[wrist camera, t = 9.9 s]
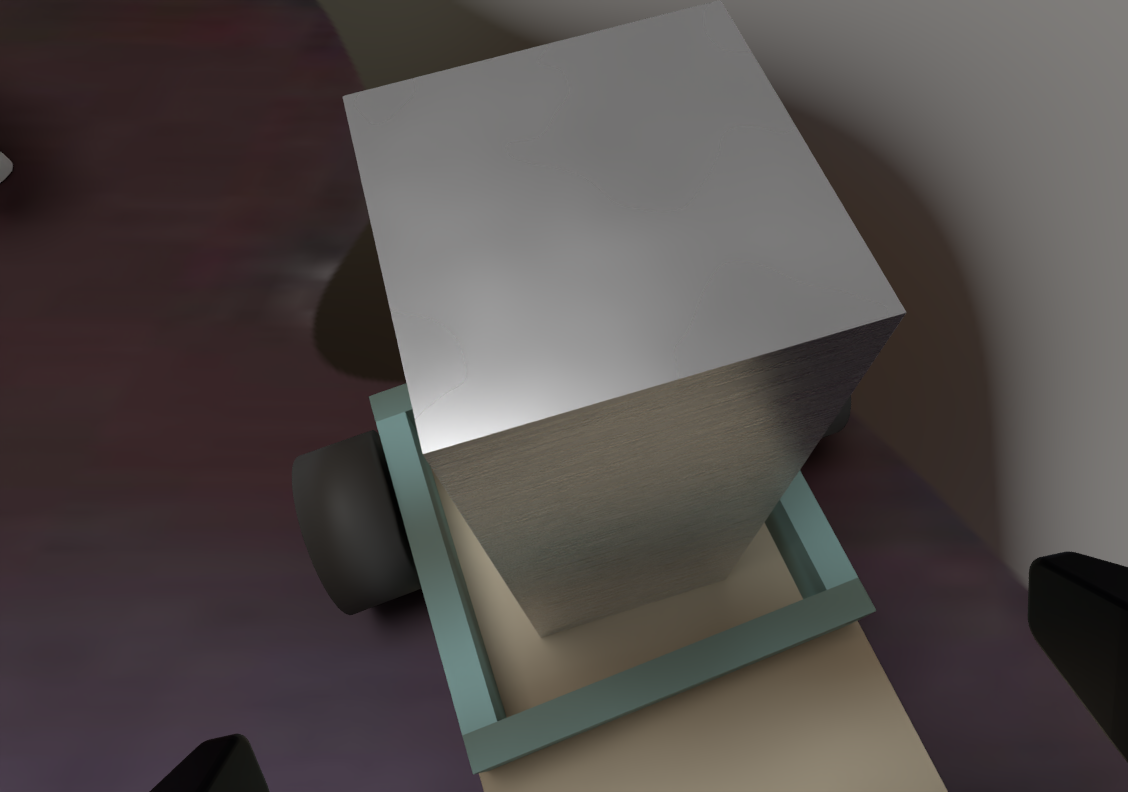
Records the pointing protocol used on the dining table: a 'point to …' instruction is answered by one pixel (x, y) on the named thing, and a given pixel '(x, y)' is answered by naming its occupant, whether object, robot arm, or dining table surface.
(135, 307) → the dining table surface
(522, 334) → the tall gray rectangular block
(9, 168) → the flower shoulder figurine
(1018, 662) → the dining table surface
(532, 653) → the toy car chassis
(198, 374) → the dining table surface
